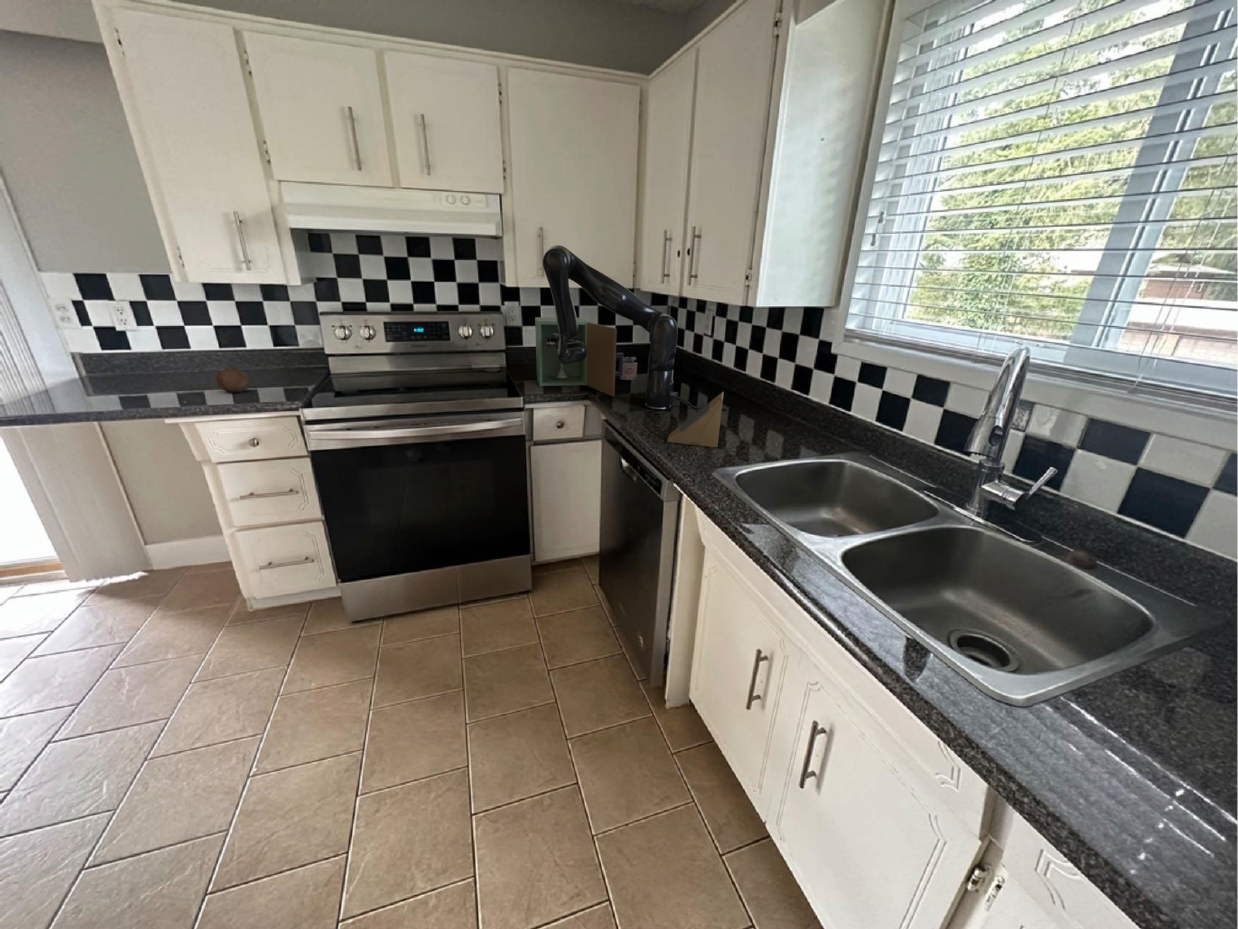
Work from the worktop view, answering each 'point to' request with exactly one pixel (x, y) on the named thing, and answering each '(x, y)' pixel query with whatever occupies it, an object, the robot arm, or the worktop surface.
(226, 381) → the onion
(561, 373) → the chalice
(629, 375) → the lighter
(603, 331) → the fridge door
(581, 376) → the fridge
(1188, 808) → the worktop surface
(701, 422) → the sandwich container
